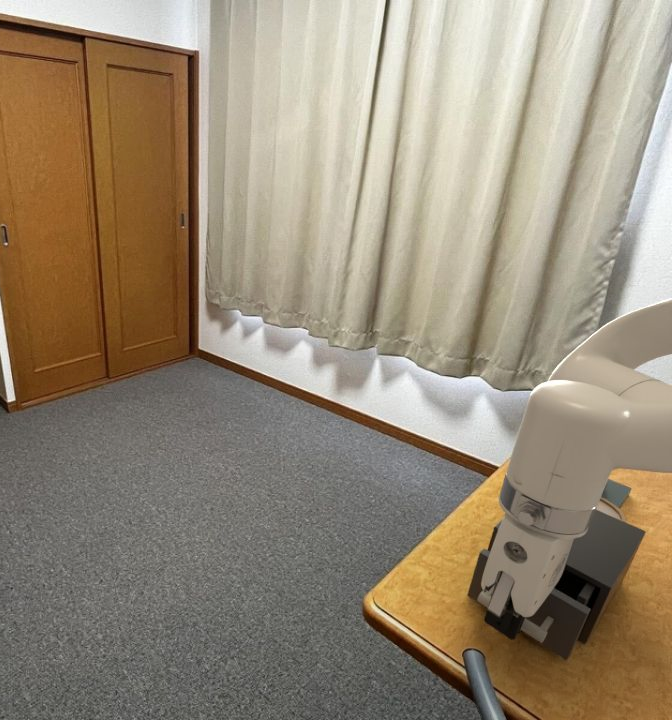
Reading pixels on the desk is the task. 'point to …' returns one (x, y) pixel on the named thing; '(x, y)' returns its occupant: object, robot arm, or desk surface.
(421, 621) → the desk surface
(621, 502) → the panel
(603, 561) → the cabinet
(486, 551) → the drawer
